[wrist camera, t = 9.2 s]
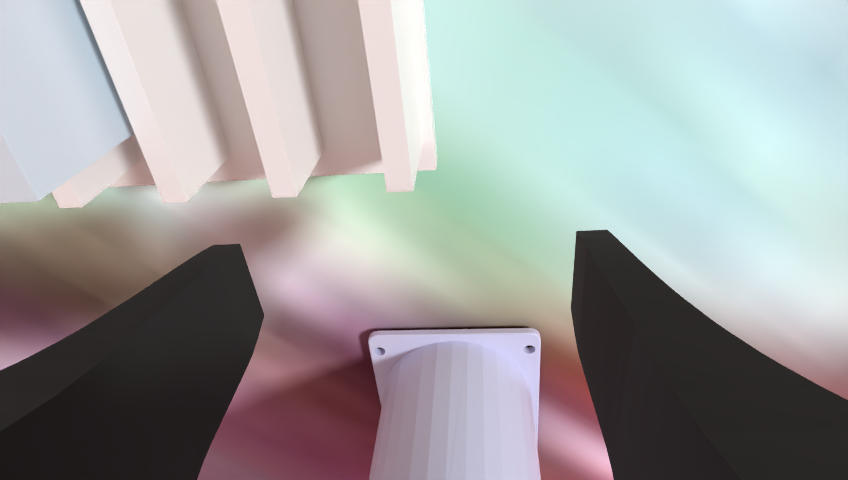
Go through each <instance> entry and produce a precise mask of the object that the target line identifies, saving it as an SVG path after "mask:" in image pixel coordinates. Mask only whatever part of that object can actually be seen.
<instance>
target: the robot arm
mask: <svg viewBox="0 0 848 480" xmlns="http://www.w3.org/2000/svg"><path fill="white" fill-rule="evenodd" d="M571 312H572V318H573V325H574V331H575V337H576V343H577V349H578V353H579V357H580V360H581V364H582V367H583V370H584V374H585V377H586V381H587V384H588V387H589V391H590V394H591V397H592V401H593V404H594V407H595V411H596V414H597V417H598V421H599V424H600V427H601V431H602V434H603V437H604V441H605V444H606V448H607V452H608V456H609V460H610V464H611V468H612V472H613V477H614V480H848V400H846V399H844V398H842V397H840V396H839V395H837V394H835V393H833V392H831V391H829V390H827V389H825V388H823V387H821V386H819V385H817V384H815V383H814V382H812V381H810V380H808V379H806V378H805V377H803V376H801V375H799V374H797V373H795V372H794V371H792V370H790V369H788V368H786V367H785V366H783V365H781V364H779V363H778V362H776V361H774V360H773V359H771V358H769V357H768V356H766V355H764V354H762V353H761V352H759V351H758V350H756V349H755V348H753V347H752V346H750V345H748V344H747V343H745V342H744V341H742V340H741V339H739V338H738V337H736V336H735V335H733V334H731V333H730V332H728V331H727V330H725V329H724V328H723V327H721V326H720V325H718V324H717V323H715V322H714V321H713V320H711V319H710V318H709V317H707V316H706V315H705V314H703V313H702V312H701V311H699V310H698V309H697V308H695V307H694V306H693V305H692V304H690V303H689V302H688V301H686V300H685V299H684V298H683V297H681V296H680V295H679V294H678V293H676V292H675V291H674V290H673V289H672V288H670V287H669V286H668V285H667V284H666V283H664V282H663V281H662V280H661V279H660V278H659V277H658V276H656V275H655V274H654V273H653V272H652V271H651V270H650V269H649V268H647V267H646V266H645V265H644V264H643V263H642V262H641V261H640V260H639V259H638V258H637V257H636V256H635V255H634V254H632V253H631V252H630V251H629V250H628V249H627V248H626V247H625V246H624V245H623V244H622V243H621V242H620V241H619V240H618V239H617V238H616V237H615V236H614V235H612V234H611V233H610V232H609V231H608V230H593V231H576V245H575V259H574V273H573V287H572V301H571ZM263 318H264V313H263V310H262V307H261V304H260V301H259V298H258V296H257V293H256V290H255V287H254V284H253V281H252V278H251V275H250V272H249V269H248V266H247V263H246V260H245V257H244V254H243V251H242V249H241V246H240V244H228V245H213V246H211V247H209V248H207V249H205V250H204V251H202V252H200V253H199V254H197V255H195V256H194V257H192V258H191V259H189V260H187V261H186V262H184V263H183V264H181V265H180V266H178V267H177V268H175V269H174V270H172V271H171V272H169V273H168V274H166V275H165V276H163V277H162V278H160V279H159V280H157V281H156V282H154V283H153V284H151V285H150V286H148V287H147V288H145V289H144V290H142V291H141V292H139V293H138V294H136V295H135V296H133V297H132V298H130V299H129V300H127V301H125V302H124V303H122V304H120V305H119V306H117V307H116V308H114V309H112V310H111V311H109V312H108V313H106V314H104V315H103V316H101V317H100V318H98V319H96V320H95V321H93V322H92V323H90V324H88V325H87V326H85V327H83V328H82V329H80V330H78V331H76V332H75V333H73V334H71V335H69V336H68V337H66V338H64V339H62V340H60V341H59V342H57V343H55V344H53V345H51V346H49V347H47V348H45V349H43V350H41V351H40V352H38V353H36V354H34V355H32V356H30V357H28V358H26V359H24V360H22V361H20V362H18V363H16V364H14V365H12V366H9V367H7V368H5V369H3V370H1V371H0V480H197V478H198V475H199V472H200V469H201V466H202V464H203V461H204V459H205V457H206V454H207V452H208V449H209V447H210V445H211V442H212V440H213V438H214V436H215V434H216V432H217V430H218V428H219V426H220V423H221V421H222V419H223V417H224V415H225V413H226V411H227V409H228V407H229V404H230V402H231V400H232V398H233V396H234V394H235V392H236V390H237V388H238V385H239V383H240V381H241V379H242V377H243V375H244V372H245V370H246V368H247V366H248V364H249V361H250V359H251V357H252V354H253V351H254V348H255V345H256V342H257V339H258V336H259V332H260V328H261V325H262V321H263ZM368 345H369V350H370V355H371V359H372V364H373V369H374V374H375V379H376V383H377V388H378V393H379V398H380V403H381V407H382V408H381V414H380V419H379V425H378V430H377V436H376V442H375V447H374V453H373V459H372V464H371V470H370V475H369V480H541V477H540V468H539V459H538V451H537V439H538V408H539V378H540V347H541V339H540V334H539V332H538V331H537V330H535V329H532V328H505V329H448V330H392V331H374V332H372V333H371V334H370V336H369V339H368ZM528 345H531V346H532V347H529V348H528V347H526V346H528ZM378 347H380V348H383V349H378Z"/></svg>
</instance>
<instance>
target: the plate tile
mask: <svg viewBox="0 0 848 480" xmlns="http://www.w3.org/2000/svg"><path fill="white" fill-rule="evenodd" d="M133 134H134V131H133V128H132V126H131V123H130V121H129V118H128V116H127V114H126V111H125V109H124V106H123V104H122V102H121V99H120V97H119V94H118V92H117V89H116V87H115V85H114V82H113V80H112V77H111V75H110V73H109V70H108V68H107V65H106V63H105V60H104V58H103V56H102V53H101V51H100V48H99V46H98V43H97V41H96V39H95V36H94V34H93V31H92V29H91V27H90V24H89V22H88V19H87V17H86V14H85V12H84V10H83V7H82V5H81V2H80V0H0V203H13V202H34V201H40V200H41V199H42V198H44V197H45V196H47V195H48V194H49V193H51V192H52V191H54V190H55V189H57V188H58V187H59V186H61V185H62V184H64V183H65V182H66V181H68V180H69V179H71V178H72V177H73V176H75V175H76V174H78V173H79V172H80V171H82V170H83V169H85V168H86V167H88V166H89V165H90V164H92V163H93V162H95V161H96V160H97V159H99V158H100V157H102V156H103V155H104V154H106V153H107V152H109V151H110V150H112V149H113V148H114V147H116V146H117V145H119V144H120V143H121V142H123V141H124V140H126V139H127V138H128V137H130V136H131V135H133Z"/></svg>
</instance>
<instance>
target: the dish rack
mask: <svg viewBox="0 0 848 480" xmlns="http://www.w3.org/2000/svg"><path fill="white" fill-rule="evenodd" d="M80 2H81V5H82V7H83V10H84V12H85V14H86V17H87V19H88V22H89V24H90V27H91V29H92V31H93V34H94V36H95V39H96V41H97V43H98V46H99V48H100V51H101V53H102V56H103V58H104V60H105V63H106V65H107V68H108V70H109V73H110V75H111V77H112V80H113V82H114V85H115V87H116V89H117V92H118V94H119V97H120V99H121V102H122V104H123V106H124V109H125V111H126V114H127V116H128V118H129V121H130V123H131V126H132V128H133V131H134V134H133V135H131V136H130V137H128V138H127V139H126V140H124V141H123V142H121V143H120V144H119V145H117V146H116V147H114V148H113V149H112V150H110V151H109V152H107V153H106V154H104V155H103V156H102V157H100V158H99V159H97V160H96V161H95V162H93V163H92V164H90V165H89V166H88V167H86V168H85V169H83V170H82V171H80V172H79V173H78V174H76V175H75V176H73V177H72V178H71V179H69V180H68V181H66V182H65V183H64V184H62V185H61V186H59V187H58V188H57V189H55V190H54V191H52V194H53V196H54V198H55V200H56V202H57V204H58V205H59V207H60V208H76V207H83V206H85V205H86V204H87V203H88V202H90V201H91V200H92V199H93V198H95V197H96V196H97V195H98V194H100V193H101V192H102V191H103V190H105V189H106V188H107V187H120V186H139V185H156V186H157V189H158V191H159V193H160V196H161V198H162V201H163V203H178V202H188V201H189V200H190V199H191V197H192V196H193V195H194V194H195V193H196V192H197V191H198V190H199V189H200V188H201V187H202V186H203V184H204V183H205V182H214V181H233V180H252V179H267V181H268V184H269V188H270V191H271V195H272V198H281V197H297V196H298V195H299V193H300V191H301V189H302V188H303V186H304V184H305V183H306V181H307V179H308V177H309V176H327V175H346V174H364V173H383V172H384V176H385V183H386V189H387V192H404V191H413V190H414V185H415V180H416V175H417V171H421V170H436V167H437V159H438V156H437V145H436V134H435V122H434V111H433V100H432V88H431V77H430V66H429V54H428V43H427V32H426V20H425V9H424V0H80Z"/></svg>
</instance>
